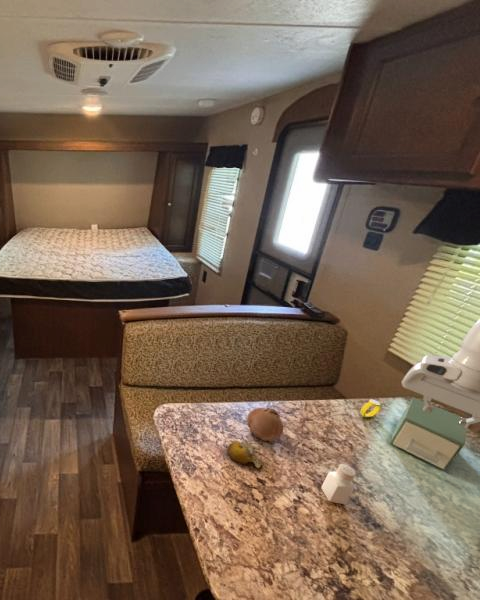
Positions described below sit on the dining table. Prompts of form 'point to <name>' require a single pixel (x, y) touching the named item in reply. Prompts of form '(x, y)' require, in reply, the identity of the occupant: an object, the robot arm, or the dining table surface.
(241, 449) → the fruit
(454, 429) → the cabinet
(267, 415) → the onion
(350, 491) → the salt shaker
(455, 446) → the drawer
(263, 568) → the dining table surface
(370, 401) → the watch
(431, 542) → the dining table surface
